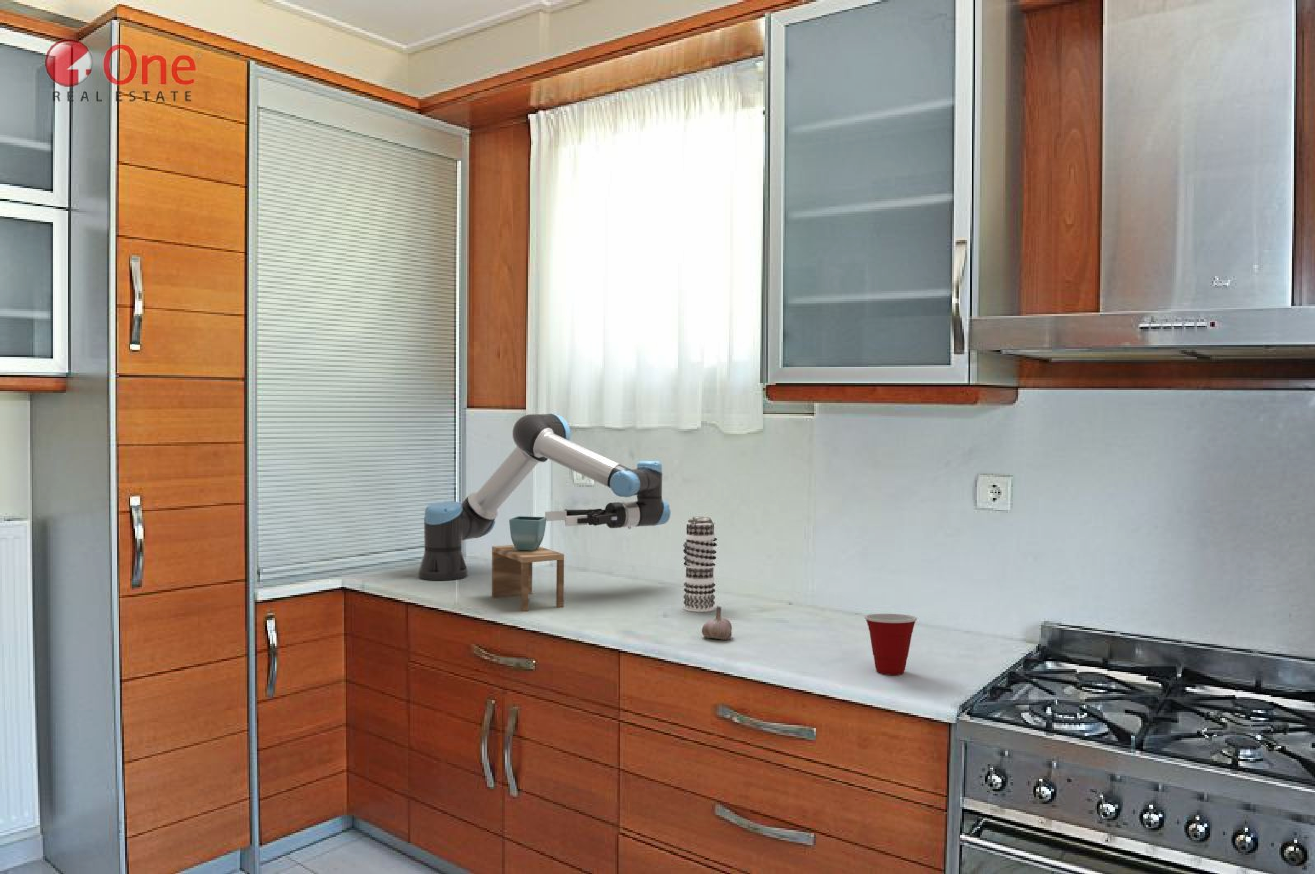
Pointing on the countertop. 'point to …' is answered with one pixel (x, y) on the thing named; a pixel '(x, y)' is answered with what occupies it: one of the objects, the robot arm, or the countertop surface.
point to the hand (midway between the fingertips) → (555, 518)
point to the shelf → (522, 572)
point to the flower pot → (527, 532)
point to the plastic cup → (890, 641)
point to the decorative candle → (699, 565)
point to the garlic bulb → (717, 627)
